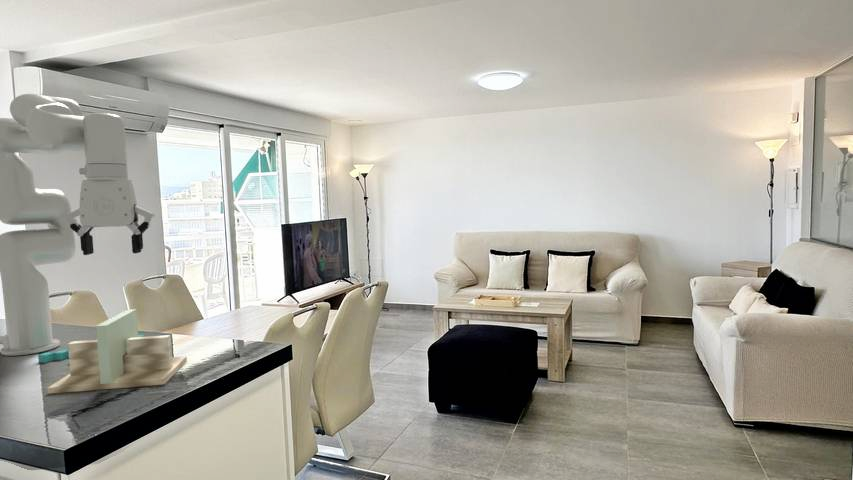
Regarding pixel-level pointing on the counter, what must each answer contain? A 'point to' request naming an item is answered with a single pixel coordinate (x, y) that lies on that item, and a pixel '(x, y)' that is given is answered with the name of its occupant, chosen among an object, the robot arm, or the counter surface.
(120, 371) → the slotted plate
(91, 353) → the cross stand
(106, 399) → the counter surface
